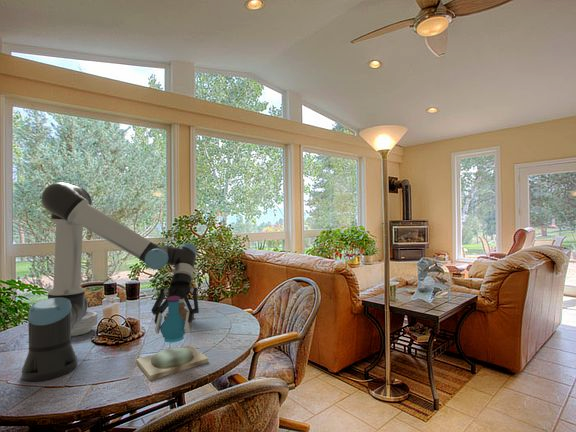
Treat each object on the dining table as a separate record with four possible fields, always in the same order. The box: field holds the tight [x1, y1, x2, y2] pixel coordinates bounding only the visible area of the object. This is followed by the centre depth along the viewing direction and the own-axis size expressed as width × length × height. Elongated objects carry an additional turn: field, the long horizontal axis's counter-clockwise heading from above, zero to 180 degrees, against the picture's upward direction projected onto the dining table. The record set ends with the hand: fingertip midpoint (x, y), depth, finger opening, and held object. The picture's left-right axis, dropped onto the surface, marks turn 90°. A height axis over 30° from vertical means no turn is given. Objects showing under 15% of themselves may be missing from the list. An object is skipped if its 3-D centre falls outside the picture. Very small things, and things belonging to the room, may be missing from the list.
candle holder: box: [163, 271, 195, 321], centre depth 166 cm, size 11×11×24 cm
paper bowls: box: [71, 310, 98, 337], centre depth 146 cm, size 15×15×8 cm
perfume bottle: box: [159, 296, 186, 343], centre depth 115 cm, size 9×9×15 cm
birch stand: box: [135, 344, 209, 381], centre depth 115 cm, size 20×16×2 cm
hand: (171, 331), depth 112 cm, fingers closed on perfume bottle, 9 cm apart
